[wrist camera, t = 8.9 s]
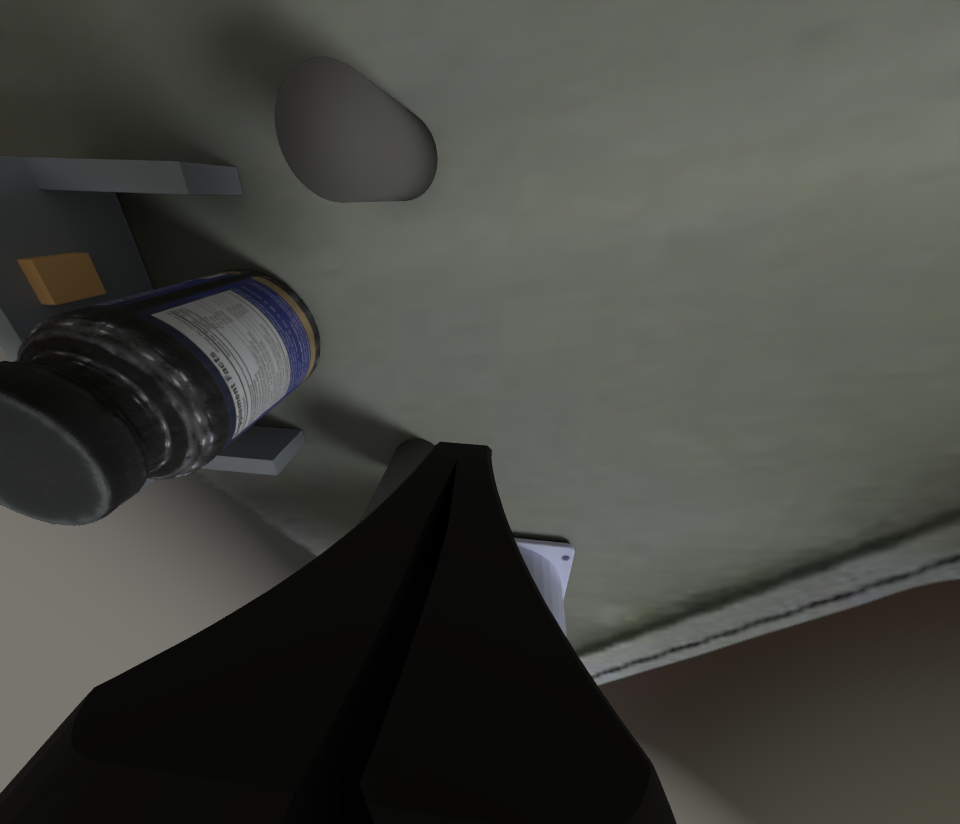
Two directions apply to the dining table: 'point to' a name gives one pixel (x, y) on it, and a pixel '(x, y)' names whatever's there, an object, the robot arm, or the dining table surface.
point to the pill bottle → (144, 390)
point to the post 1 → (351, 136)
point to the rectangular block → (100, 258)
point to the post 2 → (399, 470)
